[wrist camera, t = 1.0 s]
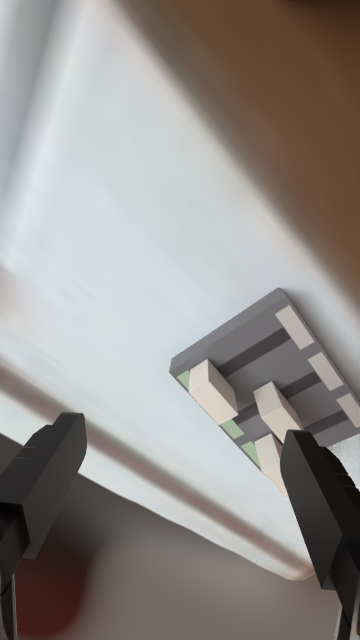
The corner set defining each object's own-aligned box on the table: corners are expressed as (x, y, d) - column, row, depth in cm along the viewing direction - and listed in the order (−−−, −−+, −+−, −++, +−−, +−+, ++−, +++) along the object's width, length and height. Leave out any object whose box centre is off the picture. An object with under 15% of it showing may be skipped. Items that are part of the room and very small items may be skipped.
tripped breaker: (271, 381, 28) (282, 406, 24) (295, 410, 29) (308, 438, 26) (253, 391, 29) (260, 417, 25) (276, 419, 30) (287, 448, 26)
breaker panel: (278, 287, 27) (286, 295, 24) (361, 408, 32) (376, 426, 29) (171, 358, 32) (169, 372, 29) (259, 455, 37) (264, 474, 34)
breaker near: (207, 358, 28) (208, 380, 24) (233, 389, 29) (238, 414, 25) (190, 369, 28) (188, 392, 25) (216, 399, 29) (218, 425, 26)
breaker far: (271, 433, 31) (280, 462, 27) (292, 458, 32) (304, 489, 28) (254, 441, 31) (261, 471, 28) (275, 465, 33) (285, 497, 29)
